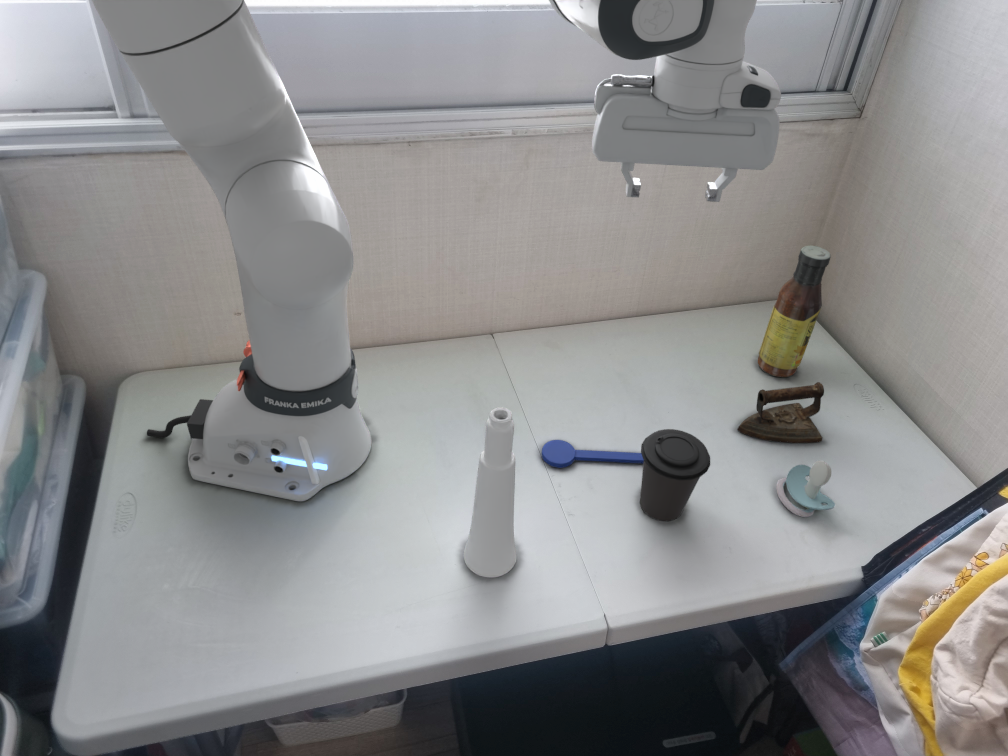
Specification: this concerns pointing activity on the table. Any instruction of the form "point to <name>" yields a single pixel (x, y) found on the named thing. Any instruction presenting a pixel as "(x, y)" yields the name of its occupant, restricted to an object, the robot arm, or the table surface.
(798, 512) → the pacifier
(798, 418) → the clothes iron
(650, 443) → the coffee cup
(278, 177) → the robot arm
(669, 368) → the table surface
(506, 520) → the cosmetic bottle
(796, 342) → the sauce bottle
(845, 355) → the table surface
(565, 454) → the spoon
